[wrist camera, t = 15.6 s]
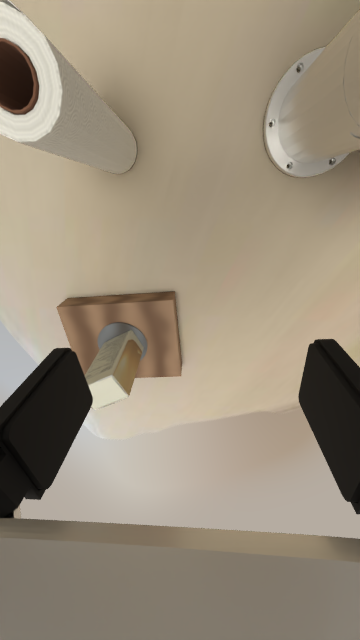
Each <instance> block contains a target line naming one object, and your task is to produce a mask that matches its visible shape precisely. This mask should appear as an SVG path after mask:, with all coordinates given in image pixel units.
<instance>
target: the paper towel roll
mask: <svg viewBox="0 0 360 640" xmlns="http://www.w3.org/2000/svg"><path fill="white" fill-rule="evenodd" d="M0 134H1V135H3V136H5V137H7V138H10V139H12V140H14V141H16V142H19V143H22V144H25V145H28V146H31V147H34V148H37V149H40V150H43V151H46V152H49V153H52V154H55V155H58V156H61V157H64V158H67V159H71V160H74V161H77V162H80V163H83V164H86V165H89V166H92V167H95V168H98V169H101V170H104V171H107V172H110V173H113V174H122V173H124V172H126V171H128V170H129V169H130V168H131V167H132V165H133V164H134V163H135V159H136V155H137V146H136V141H135V138H134V136H133V133H132V132H131V131H130V130H129V128H128V127H127V126H126V125H125V124H124V123H123V122H122V121H121V120H120V118H119V117H118V116H117V115H116V114H115V113H114V112H113V111H112V110H111V108H110V107H109V106H108V105H107V104H106V103H105V102H104V101H103V100H102V98H101V97H100V96H99V95H98V94H97V93H96V92H95V91H94V90H93V88H92V87H91V86H90V85H89V84H88V83H87V82H86V81H85V80H84V78H83V77H82V76H81V75H80V74H79V73H78V72H77V71H76V70H75V68H74V67H73V66H72V65H71V64H70V63H69V62H68V61H67V60H66V58H65V57H64V56H63V55H62V54H61V53H60V52H59V51H58V50H57V49H56V47H55V46H54V45H53V44H52V43H51V42H50V41H49V40H48V39H47V37H46V36H45V35H44V34H43V33H42V32H41V31H40V30H39V29H38V28H37V27H36V26H35V25H34V23H33V22H32V21H31V20H30V19H29V18H28V17H27V16H26V15H25V14H24V13H23V12H22V11H21V10H20V9H18V8H17V7H16V6H15V5H14V4H13V3H12V2H11V1H10V0H0Z"/></svg>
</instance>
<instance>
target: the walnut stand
mask: <svg viewBox="0 0 360 640" xmlns="http://www.w3.org/2000/svg"><path fill="white" fill-rule="evenodd" d="M57 310H58V313H59V316H60V318H61V321H62V324H63V327H64V330H65V332H66V335H67V338H68V341H69V344H70V346H71V349H72V351H74V352H75V353H76V355H77V357H78V360H79V362H80V365H81V368H82V370H83V373H84V375H85V374H86V372H87V371H88V369H89V367H90V366H91V364H92V362H93V361H94V359H95V357H96V356H97V354H98V352H99V351H100V349H101V347H102V346H103V344H104V343H105V342H107V341H109V340H111V339H113V338H115V337H117V336H119V335H121V334H123V333H126V332H128V331H130V330H132V331H133V332H134V334H135V335H136V337H137V338H138V340H139V341H140V343H141V344H142V346H143V347H144V349H143V352H142V355H141V359H140V362H139V365H138V369H137V372H136V375H135V378H143V377H173V376H181V370H182V359H181V349H180V339H179V329H178V319H177V309H176V299H175V292H160V293H144V294H128V295H112V296H96V297H80V298H67V299H66V300H65V301H64V302H62V303H61V304H60V305H59V306H57Z"/></svg>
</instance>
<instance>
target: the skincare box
mask: <svg viewBox="0 0 360 640" xmlns="http://www.w3.org/2000/svg"><path fill="white" fill-rule="evenodd" d="M143 349H144V347H143V346H142V344H141V343H140V341H139V340H138V338H137V337H136V335H135V334H134V332H133V331H132V330H130V331H128V332H126V333H123V334H121V335H119V336H117V337H115V338H113V339H111V340H109V341H107V342H105V343H104V344H103V346H102V347H101V349H100V351H99V352H98V354H97V356H96V357H95V359H94V361H93V362H92V364H91V366H90V367H89V369H88V371H87V372H86V374H85V378H86V381H87V383H88V386H89V389H90V391H91V394H92V397H93V403H92V406H91V408H92V409H93V410H98V409H101V408H103V407H106V406H109V405H111V404H114V403H116V402H119V401H121V400H123V399H126V398H128V397H129V395H130V392H131V388H132V385H133V382H134V378H135V375H136V372H137V369H138V365H139V362H140V359H141V355H142V352H143Z"/></svg>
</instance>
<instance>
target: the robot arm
mask: <svg viewBox="0 0 360 640" xmlns="http://www.w3.org/2000/svg"><path fill="white" fill-rule="evenodd" d="M296 69H299V73H298V72H297V71H296ZM269 123H271V124H272V126H271V127H269V125H268V124H269ZM263 131H264V142H265V147H266V150H267V153H268V155H269V157H270V159H271V161H272V162H273V163H274V165H275V166H276V167H277V168H278V169H279V170H281V171H282V172H284V173H285V174H287V175H289V176H294V177H312V176H316V175H319V174H322V173H324V172H326V171H328V170H330V169H332V168H334V167H335V166H336V165H338V164H339V163H340V162H341V161H343V160H344V159H345V158H346V157H347V156H348V155H349V154H350V152H353V151H356V150H359V149H360V9H359V10H358V12H357V13H356V14H355V15H354V16H353V17H352V18H351V20H350V21H349V22H348V23H347V24H346V25H345V26H344V28H343V29H342V30H341V31H340V32H339V33H338V34H337V35H336V37H335V38H334V39H333V40H332V41H331V42H330V43H329V45H328V46H325V47H322V48H318V49H315V50H313V51H311V52H309V53H307V54H305V55H304V56H303V57H301V58H300V59H299V60H298V61H296V62H295V63H294V64H293V65H292V66H291V67H290V68H289V69H288V70H287V72H286V73H285V74H284V75H283V77H282V78H281V79H280V81H279V82H278V84H277V86H276V88H275V89H274V91H273V93H272V95H271V98H270V100H269V103H268V105H267V109H266V113H265V118H264V127H263ZM329 160H330V161H331V163H330V164H329ZM287 164H288V165H289V168H288V169H287V168H286V165H287ZM92 403H93V397H92V394H91V391H90V389H89V386H88V383H87V381H86V378H85V375H84V373H83V370H82V368H81V365H80V362H79V360H78V357H77V355H76V353H75V352H74V351H72V350H71V349H70V348H56V349H54V350H53V351H52V352H51V353H50V354H49V355H48V356H47V357H46V358H45V359H44V360H43V361H42V362H41V364H40V365H39V366H38V367H37V368H36V369H35V370H34V371H33V372H32V373H31V374H30V375H29V376H28V378H27V379H26V380H25V381H24V382H23V383H22V384H21V385H20V386H19V387H18V388H17V389H16V391H15V392H14V393H13V394H12V395H11V396H10V397H9V398H8V399H7V400H6V401H5V402H4V403H3V405H2V406H1V407H0V640H360V539H355V538H342V537H329V536H317V535H303V534H286V533H269V532H254V531H238V530H237V531H236V530H221V529H220V530H219V529H205V528H187V527H168V526H152V525H151V526H150V525H133V524H116V523H115V524H114V523H97V522H77V521H57V520H38V519H21V512H20V503H21V501H22V500H23V498H24V497H25V498H26V499H38V500H40V499H41V497H42V496H43V494H44V492H45V490H46V489H48V488H49V487H50V486H51V484H52V483H53V481H54V479H55V477H56V475H57V473H58V471H59V469H60V467H61V465H62V463H63V461H64V459H65V457H66V455H67V453H68V451H69V449H70V447H71V445H72V443H73V441H74V439H75V437H76V435H77V433H78V431H79V430H80V428H81V426H82V424H83V422H84V420H85V418H86V416H87V414H88V412H89V410H90V408H91V406H92ZM299 403H300V405H301V407H302V410H303V412H304V414H305V416H306V418H307V420H308V422H309V425H310V427H311V429H312V431H313V433H314V435H315V438H316V440H317V442H318V444H319V446H320V448H321V450H322V453H323V455H324V457H325V459H326V461H327V463H328V466H329V467H330V470H331V472H332V474H333V476H334V478H335V481H336V483H337V485H338V487H339V489H340V491H341V494H342V495H343V497H344V499H345V500H346V501H348V502H351V504H352V506H353V507H354V510H355V512H356V514H360V367H359V366H358V365H357V364H356V363H355V362H354V361H353V360H352V359H351V357H350V356H349V355H348V354H347V353H346V352H345V351H344V350H343V348H342V347H341V346H340V345H339V344H338V343H337V342H336V341H335V340H334V339H318V340H315V341H314V343H313V344H310V345H309V348H308V352H307V357H306V362H305V367H304V372H303V376H302V381H301V386H300V391H299Z"/></svg>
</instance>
